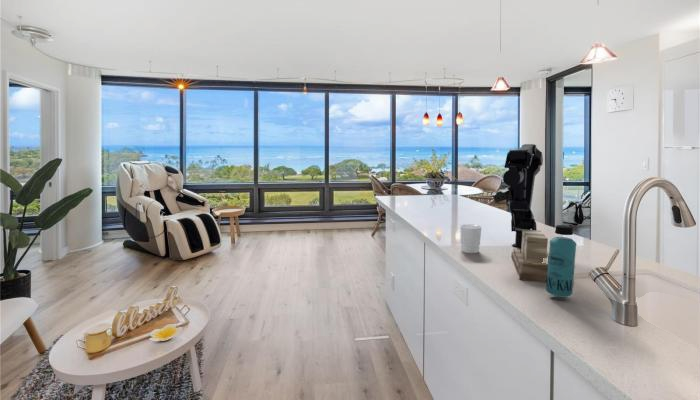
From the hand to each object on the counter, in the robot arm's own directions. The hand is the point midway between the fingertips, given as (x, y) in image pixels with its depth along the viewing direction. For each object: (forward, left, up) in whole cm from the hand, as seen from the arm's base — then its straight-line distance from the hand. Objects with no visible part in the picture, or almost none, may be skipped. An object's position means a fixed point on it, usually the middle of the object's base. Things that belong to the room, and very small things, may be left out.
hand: (515, 224), depth 141 cm
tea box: (+7, +9, -10) cm, 15 cm away
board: (+11, +12, -12) cm, 20 cm away
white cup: (+6, -15, -12) cm, 20 cm away
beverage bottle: (+33, +25, -12) cm, 43 cm away
